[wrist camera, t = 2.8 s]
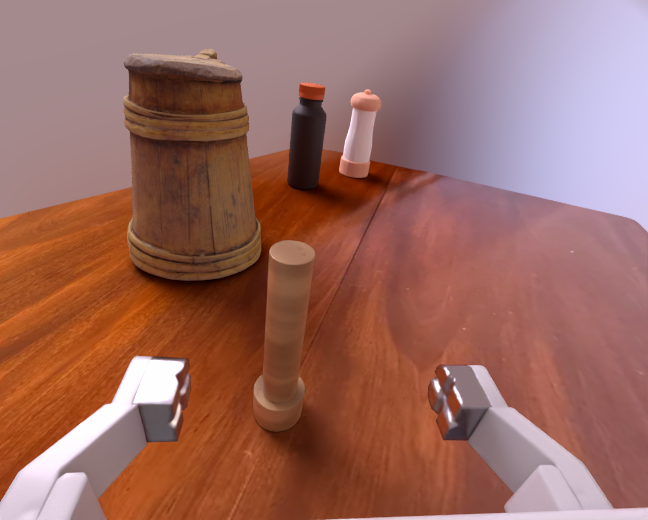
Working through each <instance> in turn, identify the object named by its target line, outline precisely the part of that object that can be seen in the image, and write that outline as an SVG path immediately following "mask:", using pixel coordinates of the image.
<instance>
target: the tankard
mask: <svg viewBox="0 0 648 520" xmlns="http://www.w3.org/2000/svg"><path fill="white" fill-rule="evenodd" d="M124 66H125V68H126V69H128V70H129V95H126V96H125V97H124V101H123V103H124V106H125V107H124V113H125V120H124V123H125V126H126V128H127V129H128V130H129V131H130V142H131V163H132V202H133V218H132V219H131V221H130V223H129V225H128V234H127V243H128V246H129V249H130V250H129V255H130V258H131V260H132V262H133V263H134V264H135V265H136V266H138V267H139V268H140V269H142V270H144V271H146V272H148V273H150V274H153V275H156V276H160V277H163V278H167V279H174V280H185V281H197V280H210V279H217V278H222V277H226V276H229V275H232V274H235V273H238V272H240V271H243V270H245V269H246V268H248V267H249V266H251V265H252V264H254V263H255V262H256V261H257V260H258V258H259V256H260V253H261V235H260V223H259V222H258V220H257V219H256V217H255V212H254V202H253V194H252V186H251V175H250V166H249V157H248V147H247V137H246V133H247V132H248V131H249V122H248V121H249V116H248V114H247V107H246V105H245V104H244V103H243V102H242V94H241V85H240V83H241V81H242V74H241V72H240V71H239V70H238V69H236V68H234V67H231V66H229V65H226V64H225V63H224V62H222V61H219V60H217V55H216V52H215V51H214V50H213V49H205V50H203V51H202V52H200V53H199V54H198V55H197V56H188V55H166V54H131V55H129V56H128V57H127V59H126V60H125V62H124Z"/></svg>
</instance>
